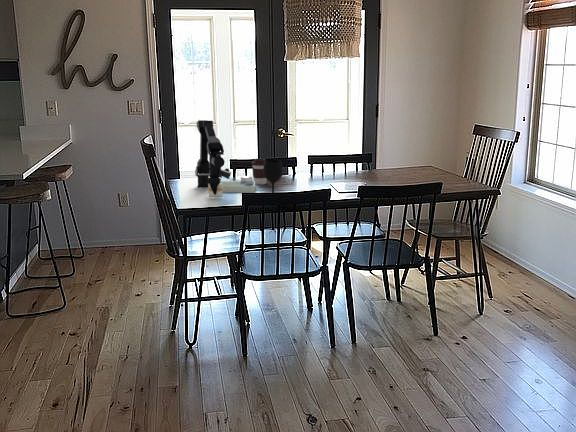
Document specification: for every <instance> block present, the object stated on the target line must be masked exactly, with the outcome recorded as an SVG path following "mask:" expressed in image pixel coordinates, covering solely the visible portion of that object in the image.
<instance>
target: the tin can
mask: <svg viewBox="0 0 576 432" xmlns="http://www.w3.org/2000/svg"><path fill="white" fill-rule="evenodd" d="M240 181H241V186H253V181H254V179H253V176H249V175H245V176H243V175H242V176H240Z"/></svg>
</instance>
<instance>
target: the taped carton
mask: <svg viewBox="0 0 576 432" xmlns="http://www.w3.org/2000/svg"><path fill="white" fill-rule="evenodd" d="M207 189H208V190H207V191H208V192H207V193H208V197H222V196H223V192H222V183H220V184H218V186H217V192H216V195H214V193H213V191H212V189H211V187H210V184H208V187H207Z"/></svg>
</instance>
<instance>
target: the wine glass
mask: <svg viewBox="0 0 576 432" xmlns="http://www.w3.org/2000/svg"><path fill="white" fill-rule="evenodd" d="M283 171H284V167H283V161H282V160H279V159H267V160H266V161H265V162H264V166H263V173H264V176H265V178H266V181H268V182H269V183H270V184H271V187H272V188H271V194H272V193H274V194H275V184H276V183H277V182H278V181H279V180H280V179H281V178H282V176H283V174H284V172H283Z"/></svg>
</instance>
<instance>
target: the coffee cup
mask: <svg viewBox="0 0 576 432" xmlns="http://www.w3.org/2000/svg"><path fill="white" fill-rule="evenodd" d="M265 161H266V159H265V158H254V159H253V161H250V162H251V166H252V168H251V169H252V179H253V181H255V185H266V184H267V179H266V178H265V176H264V173H263V166H264V162H265Z"/></svg>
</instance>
